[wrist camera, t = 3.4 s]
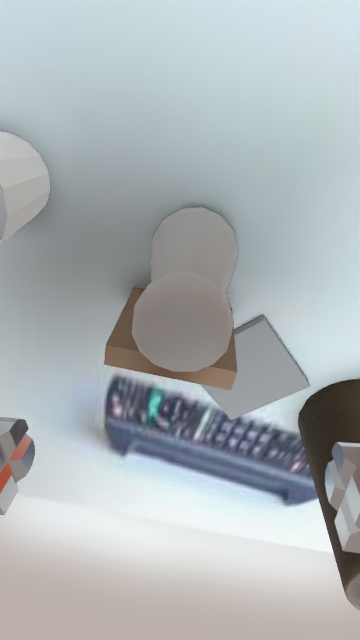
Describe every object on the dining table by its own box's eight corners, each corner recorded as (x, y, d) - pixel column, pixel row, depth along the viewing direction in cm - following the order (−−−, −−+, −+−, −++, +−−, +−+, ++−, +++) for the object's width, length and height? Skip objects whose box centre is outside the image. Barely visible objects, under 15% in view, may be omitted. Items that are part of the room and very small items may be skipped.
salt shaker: (225, 284, 26) (233, 407, 15) (152, 271, 26) (105, 384, 15) (244, 207, 23) (272, 288, 12) (162, 192, 23) (111, 259, 12)
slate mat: (230, 413, 33) (231, 419, 32) (182, 357, 30) (182, 363, 29) (307, 380, 30) (310, 386, 29) (263, 314, 27) (264, 319, 26)
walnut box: (231, 308, 27) (237, 372, 20) (226, 323, 28) (230, 390, 21) (134, 287, 27) (105, 344, 20) (131, 303, 28) (104, 364, 21)
